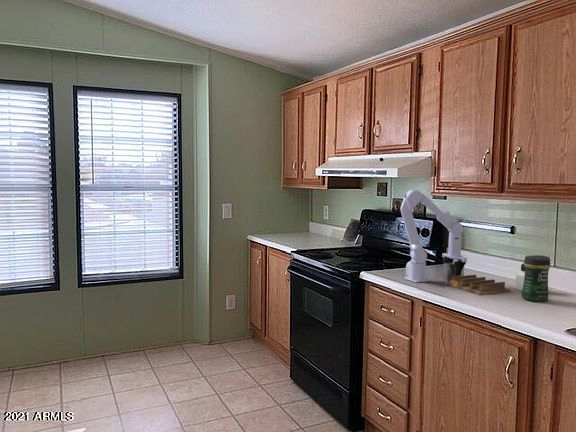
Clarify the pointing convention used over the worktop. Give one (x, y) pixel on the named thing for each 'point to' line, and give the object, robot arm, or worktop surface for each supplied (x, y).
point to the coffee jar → (536, 278)
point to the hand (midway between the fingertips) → (453, 274)
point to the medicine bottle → (520, 278)
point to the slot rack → (477, 284)
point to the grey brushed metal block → (450, 272)
